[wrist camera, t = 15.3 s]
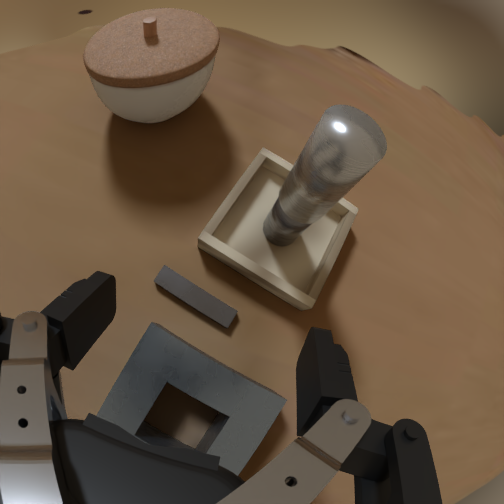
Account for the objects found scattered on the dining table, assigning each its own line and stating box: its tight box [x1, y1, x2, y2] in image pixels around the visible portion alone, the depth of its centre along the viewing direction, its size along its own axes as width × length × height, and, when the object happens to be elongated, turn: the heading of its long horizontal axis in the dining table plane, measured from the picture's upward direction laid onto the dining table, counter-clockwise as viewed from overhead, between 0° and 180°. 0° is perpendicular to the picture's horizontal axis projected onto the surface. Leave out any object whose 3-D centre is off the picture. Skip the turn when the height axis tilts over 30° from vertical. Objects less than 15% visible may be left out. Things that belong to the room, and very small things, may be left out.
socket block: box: [96, 322, 287, 476], centre depth 19 cm, size 11×11×4 cm
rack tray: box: [198, 147, 358, 311], centre depth 26 cm, size 10×10×2 cm
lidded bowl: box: [83, 8, 220, 123], centre depth 23 cm, size 13×13×11 cm
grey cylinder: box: [263, 105, 387, 246], centre depth 20 cm, size 4×4×14 cm
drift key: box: [154, 265, 238, 328], centre depth 24 cm, size 7×2×1 cm, turn 60°
